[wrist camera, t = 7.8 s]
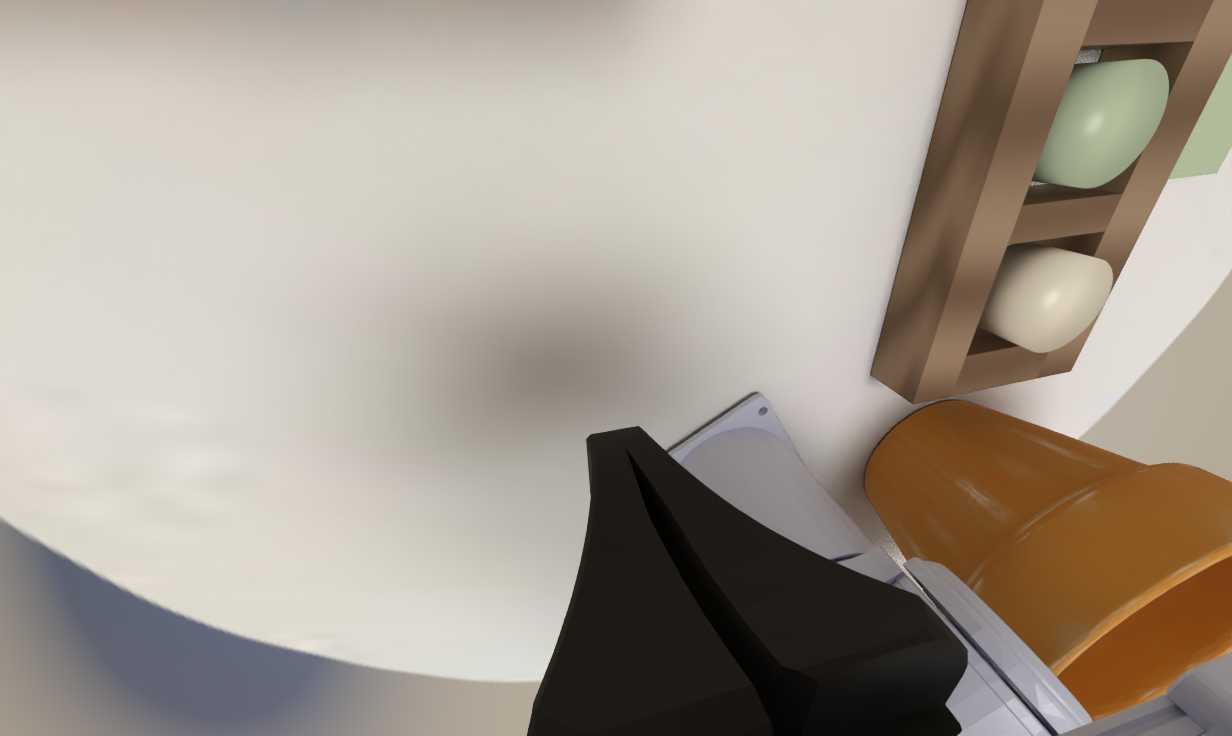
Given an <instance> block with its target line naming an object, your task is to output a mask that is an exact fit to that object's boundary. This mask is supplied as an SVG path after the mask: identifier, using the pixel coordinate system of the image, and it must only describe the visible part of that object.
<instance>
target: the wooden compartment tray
mask: <svg viewBox="0 0 1232 736" xmlns="http://www.w3.org/2000/svg"><path fill="white" fill-rule="evenodd" d="M1099 49H1104V51H1103V53H1102V56H1101V58H1100V61H1099V62H1110V61H1124V60H1138V59H1152V60H1155V61H1158V62H1159V63H1161V64H1162V65H1163V67H1164V68H1165V70H1166V72H1167V75H1168V80H1169V93H1168V100H1167V104H1166V108H1165V110H1164V113H1163V116H1162V118H1161V121H1160V123H1159V125H1158V127H1157V129H1156V131H1155V133H1154V135H1153V136H1152V138H1151V140H1150V141H1149V143H1148V144H1147V145H1146V147H1145V148H1144V150H1143V151H1142V152H1141V153H1140V155H1139V156H1138V157H1137V158H1136V159H1135V160H1134V162H1133V163H1132V164H1131V165H1130V166H1128V167H1127V168H1126V169H1125V170H1124V171H1123V172H1122V173H1121V174H1119V175H1118V176H1116V177H1115V178H1114V179H1112V180H1110V181H1109V182H1107V183H1105V184H1103V185H1100V186H1097V187H1094V188H1078V187H1070V186H1063V185H1056V184H1044V185H1035V186H1029V185H1030V183H1031V180H1032V177H1033V175H1034V172H1035V169H1036V167H1037V164H1038V161H1039V159H1040V156H1041V153H1042V150H1043V148H1044V145H1045V142H1046V140H1047V137H1048V134H1049V132H1050V129H1051V126H1052V123H1053V121H1054V118H1055V115H1056V113H1057V110H1058V107H1059V105H1060V102H1061V99H1062V97H1063V94H1064V91H1065V88H1066V86H1067V83H1068V80H1069V78H1070V75H1071V72H1072V70H1073V67H1074V64H1075V61H1076V59H1077V56H1078V53H1079V51H1080V50H1099ZM1231 54H1232V0H968V3H967V6H966V10H965V14H964V18H963V22H962V26H961V29H960V33H959V37H958V41H957V45H956V49H955V52H954V56H953V60H952V64H951V68H950V72H949V75H948V79H947V83H946V87H945V91H944V95H943V98H942V102H941V106H940V110H939V114H938V118H937V122H936V125H935V129H934V133H933V137H932V141H931V145H930V148H929V152H928V156H927V160H926V164H925V168H924V171H923V175H922V179H921V183H920V187H919V191H918V194H917V198H916V202H915V206H914V210H913V214H912V217H911V221H910V225H909V229H908V233H907V237H906V240H905V244H904V248H903V252H902V256H901V260H900V263H899V267H898V271H897V275H896V279H895V283H894V286H893V290H892V294H891V298H890V302H889V306H888V310H887V313H886V317H885V321H884V325H883V329H882V333H881V336H880V340H879V344H878V348H877V352H876V356H875V359H874V363H873V367H872V371H871V375H872V376H873V377H874V378H876V379H877V380H879V381H880V382H882V383H883V384H885V385H886V386H887V387H889V388H890V389H892V390H893V391H895V392H896V393H898V394H899V395H900V396H902V397H903V398H905V399H906V400H908V401H909V402H911V403H912V404H916V403H920V402H925V401H930V400H935V399H940V398H945V397H949V396H954V395H959V394H964V393H969V392H973V391H978V390H983V389H988V388H993V387H997V386H1002V385H1007V384H1012V383H1017V382H1022V381H1026V380H1031V379H1036V378H1041V377H1046V376H1050V375H1055V374H1060V373H1065V372H1070V371H1071V370H1072V368H1073V366H1074V364H1075V362H1076V360H1077V358H1078V356H1079V354H1080V352H1081V350H1082V348H1083V346H1084V344H1085V342H1086V340H1087V338H1088V336H1089V334H1090V332H1091V330H1092V328H1093V326H1094V324H1095V322H1096V320H1097V318H1098V316H1099V314H1100V312H1101V311H1100V312H1099V314H1098V315H1097V316H1096V318H1095V319H1094V320H1093V321H1092V322H1091V324H1090V325H1089V326H1088V327H1087V328H1086V329H1085V330H1084V331H1083V332H1082V333H1081V334H1079V335H1078V336H1077V337H1076V338H1074V339H1073V340H1072V341H1070V342H1069V343H1067V344H1066V345H1064V346H1062V347H1060V348H1058V349H1056V350H1053V351H1050V352H1045V353H1036V352H1033V351H1030V350H1028V349H1026V348H1024V347H1021V346H1019V345H1017V344H1015V343H1012V342H1010V341H1008V340H1006V339H1003V338H1001V337H999V336H997V335H994V334H992V333H990V332H988V331H986V330H983V329H981V328H979V327H977V326H978V323H979V320H980V318H981V315H982V312H983V309H984V307H985V304H986V301H987V299H988V296H989V293H990V291H991V288H992V285H993V283H994V280H995V277H996V274H997V272H998V269H999V266H1000V264H1001V261H1002V258H1003V256H1004V253H1005V250H1006V247H1007V245H1010V244H1017V243H1024V242H1035V243H1039V244H1043V245H1047V246H1051V247H1055V248H1059V249H1063V250H1067V251H1071V252H1075V253H1079V254H1083V255H1087V256H1091V257H1095V258H1099V259H1102V260H1105V261H1106V262H1108V264H1109V265H1110V266H1111V269H1112V272H1113V282H1112V287H1111V290H1110V293H1111V291H1112V289H1113V287H1114V285H1115V283H1116V281H1117V279H1118V277H1119V275H1120V273H1121V271H1122V269H1123V267H1124V265H1125V263H1126V261H1127V259H1128V257H1129V255H1130V253H1131V251H1132V249H1133V247H1134V245H1135V243H1136V241H1137V239H1138V238H1139V236H1140V234H1141V232H1142V230H1143V228H1144V226H1145V224H1146V222H1147V220H1148V218H1149V216H1150V214H1151V212H1152V210H1153V208H1154V206H1155V204H1156V202H1157V200H1158V198H1159V196H1160V194H1161V192H1162V190H1163V188H1164V186H1165V184H1166V182H1167V180H1168V178H1169V176H1170V174H1171V172H1172V170H1173V168H1174V167H1175V165H1176V163H1177V161H1178V159H1179V157H1180V155H1181V153H1182V151H1183V149H1184V147H1185V145H1186V143H1187V141H1188V139H1189V137H1190V135H1191V133H1192V131H1193V129H1194V127H1195V125H1196V123H1197V121H1198V119H1199V117H1200V115H1201V113H1202V111H1203V109H1204V107H1205V105H1206V103H1207V101H1208V99H1209V97H1210V96H1211V94H1212V92H1213V90H1214V88H1215V86H1216V84H1217V82H1218V80H1219V78H1220V76H1221V74H1222V72H1223V70H1224V68H1225V66H1226V64H1227V62H1228V60H1229V58H1230V56H1231ZM1110 293H1109V295H1110ZM1108 297H1109V296H1108ZM1107 299H1108V298H1107ZM1106 301H1107V300H1106ZM1105 303H1106V302H1105ZM1104 305H1105V304H1104ZM1103 307H1104V306H1103ZM1102 309H1103V308H1102ZM1102 309H1101V310H1102Z"/></svg>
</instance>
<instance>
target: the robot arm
mask: <svg viewBox="0 0 1232 736" xmlns="http://www.w3.org/2000/svg"><path fill="white" fill-rule="evenodd" d="M761 408H763V409H762V410H761V411H759V410H760V409H761ZM586 442H587V455H588V468H589V481H590V494H591V501H590V509H589V517H588V525H587V532H586V537H585V543H584V548H583V553H582V557H581V562H580V566H579V570H578V574H577V578H576V582H575V586H574V590H573V594H572V597H571V601H570V604H569V607H568V610H567V613H566V616H565V619H564V623H563V626H562V629H561V632H560V635H559V638H558V641H557V644H556V647H555V649H554V652H553V655H552V658H551V660H550V663H549V665H548V668H547V670H546V673H545V675H544V678H543V680H542V683H541V685H540V688H539V690H538V693H537V695H536V698H535V700H534V703H533V708H532V715H531V719H530V724H529V728H528V733H527V736H1232V652H1231V653H1228V654H1226V655H1223V656H1220V657H1218V658H1215V659H1212V660H1210V661H1207V662H1204V663H1202V664H1199V665H1197V666H1195V667H1193V668H1191V669H1190V670H1188V671H1186V672H1185V673H1183V674H1182V675H1181V676H1179V677H1178V678H1177V679H1176V680H1175V681H1174V682H1173V683H1172V684H1171V685H1170V686H1169V687H1168V688H1167V689H1166V694H1163V695H1161V696H1158V697H1156V698H1153V699H1150V700H1148V701H1145V702H1143V703H1140V704H1137V705H1135V706H1132V707H1130V708H1127V709H1125V710H1122V711H1119V712H1117V713H1114V714H1112V715H1109V716H1106V717H1104V718H1101V719H1099V720H1096V721H1094V722H1093V721H1092V719H1091V717H1090V716H1089V714H1088V713H1087V712H1086V711H1085V709H1084V708H1083V707H1082V706H1081V704H1080V703H1079V702H1078V701H1077V700H1076V698H1075V697H1074V696H1073V695H1072V694H1071V693H1070V692H1069V690H1068V689H1067V688H1066V687H1065V686H1064V685H1063V684H1062V683H1061V681H1060V680H1059V679H1058V678H1057V677H1056V676H1055V675H1054V674H1053V673H1052V672H1051V671H1050V669H1049V668H1048V667H1047V666H1046V665H1045V664H1044V663H1043V662H1042V661H1041V660H1040V659H1039V658H1038V657H1037V656H1036V655H1035V654H1034V652H1033V651H1032V650H1031V649H1030V648H1029V647H1028V646H1027V645H1026V644H1025V643H1024V642H1023V641H1022V640H1021V639H1020V638H1019V637H1018V636H1017V635H1016V634H1015V633H1014V632H1013V631H1012V630H1011V629H1010V628H1009V627H1008V626H1007V625H1006V624H1005V623H1004V622H1003V621H1002V620H1001V619H1000V618H999V617H998V616H997V615H996V614H995V613H994V612H993V611H992V610H991V609H990V608H989V607H988V606H987V605H986V604H985V603H984V602H983V601H982V600H981V599H980V598H979V597H978V596H977V595H976V594H975V593H974V592H973V591H972V590H971V589H970V588H969V587H968V586H967V585H965V584H964V583H963V582H962V581H961V580H960V579H959V578H958V577H957V576H956V575H954V574H953V573H952V572H951V571H950V570H949V569H947V568H946V567H945V566H943V565H942V564H940V563H936V562H931V561H923V560H921V559H920V558H917V557H913V558H911V559H910V560H908V561H907V562H905V563H904V564H903V565H904V567H905V568H906V570H907V571H908V572H909V573H910V574H911V575H912V577H913V578H914V579H915V580H916V581H917V583H918V584H919V585H920V586H921V587H922V588H923V591H924V592H925V593H926V594H927V596H928V597H929V598H930V599H931V600H932V602H933V603H934V604H935V605H936V606H937V607H938V609H939V610H940V611H941V612H942V613H943V614H944V615H945V616H944V615H943V614H942V613H941V612H940V611H939V610H938V609H937V607H936V606H935V605H934V604H933V603H932V602H931V601H930V600H929V599H928V598H927V597H926V596H925V594H924V593H923V592H922V591H921V590H920V589H919V588H918V587H917V586H916V585H915V584H914V582H913V581H912V580H911V579H910V578H909V577H908V576H907V575H906V574H905V573H904V572H903V571H902V569H901V568H900V567H899V566H898V565H897V564H896V563H895V562H894V561H893V560H892V558H891V557H890V556H889V555H888V554H887V553H886V552H885V551H884V550H883V549H882V547H881V546H876V545H875V544H874V543H873V542H872V541H871V540H870V539H869V538H868V536H867V535H866V534H865V533H864V532H863V531H862V530H861V529H860V527H859V526H858V525H857V524H856V523H855V522H854V521H853V520H852V519H851V517H850V516H849V515H848V514H847V513H846V512H845V511H844V510H843V509H842V507H841V506H840V505H839V504H838V503H837V502H836V501H835V500H834V498H833V497H832V496H831V495H830V494H829V493H828V492H827V491H826V490H825V488H824V487H823V486H822V485H821V484H820V483H819V482H818V481H817V480H816V478H815V477H814V476H813V475H812V474H811V473H810V472H809V471H808V469H807V468H806V467H805V466H804V464H803V462H802V460H801V459H800V457H799V455H798V453H797V452H796V450H795V448H794V446H793V444H792V443H791V441H790V439H789V437H788V435H787V434H786V432H785V430H784V428H783V427H782V425H781V423H780V421H779V419H778V418H777V416H776V414H775V412H774V411H773V409H772V407H771V405H770V403H769V402H768V400H767V399H766V398H765V397H764V396H763V395H762V394H755V395H753V396H751V397H750V398H748V399H747V400H745V401H744V402H742V403H741V404H739V405H738V406H737V407H735V408H734V409H732V410H731V411H729V412H728V413H726V414H725V415H723V416H722V417H720V418H719V419H717V420H716V421H714V422H713V423H711V424H710V425H708V426H707V427H705V428H704V429H702V430H701V431H700V432H698V433H697V434H695V435H694V436H692V437H691V438H689V439H688V440H686V441H685V442H683V443H682V444H680V445H679V446H677V447H676V448H674V449H673V450H671V451H670V452H668V453H667V452H666V451H665V450H664V449H663V448H662V447H661V446H660V445H658V444H657V443H656V442H655V441H654V440H653V439H652V438H651V437H650V436H649V435H648V434H647V433H646V432H645V431H644V430H643V429H642V428H640V427H639V426H636V427H630V428H624V429H619V430H613V431H607V432H602V433H596V434H591V435H590V436H589V437H588V438H587V439H586ZM1011 690H1012V691H1013V692H1014V693H1015V694H1014V693H1013V692H1012V691H1011Z"/></svg>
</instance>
